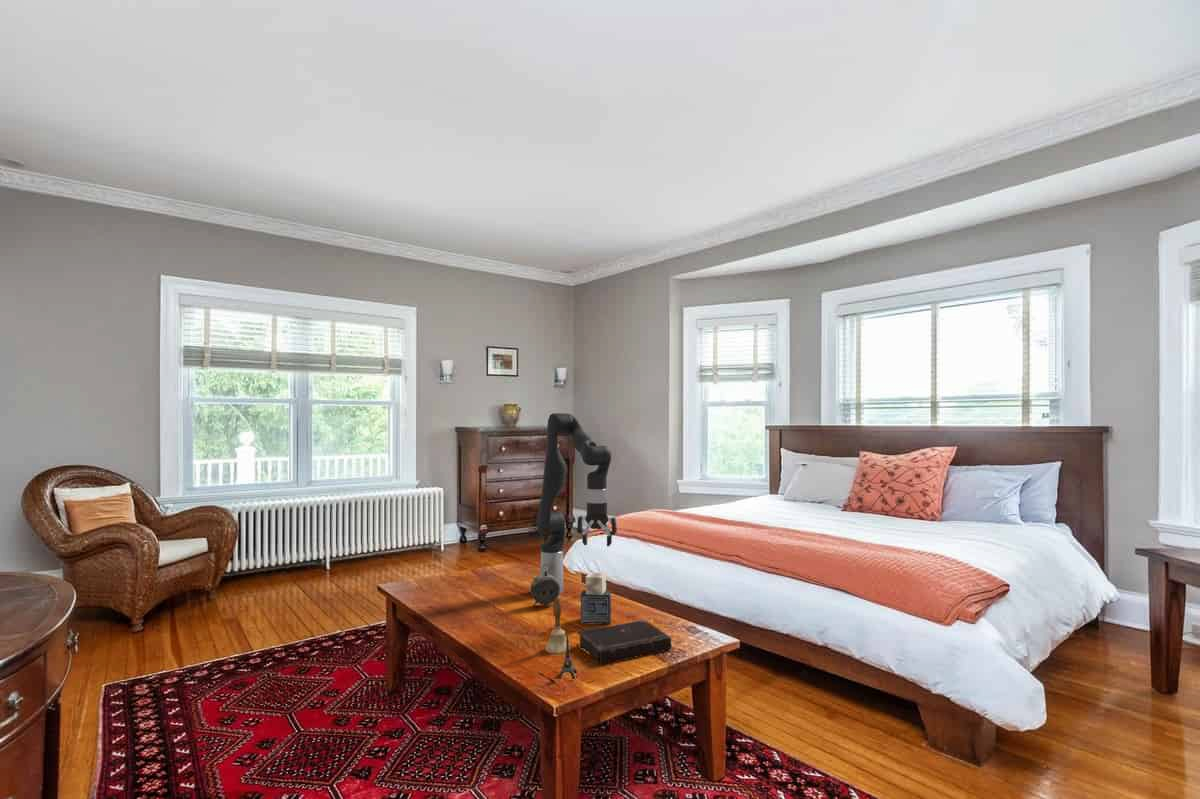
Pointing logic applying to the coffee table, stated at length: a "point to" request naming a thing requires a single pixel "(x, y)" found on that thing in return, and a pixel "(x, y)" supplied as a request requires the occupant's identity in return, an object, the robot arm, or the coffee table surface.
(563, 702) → the coffee table surface
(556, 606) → the hand bell
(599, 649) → the diary
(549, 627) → the coffee table surface
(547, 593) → the alarm clock
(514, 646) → the coffee table surface
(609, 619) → the small box
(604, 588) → the birch cube
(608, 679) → the coffee table surface
